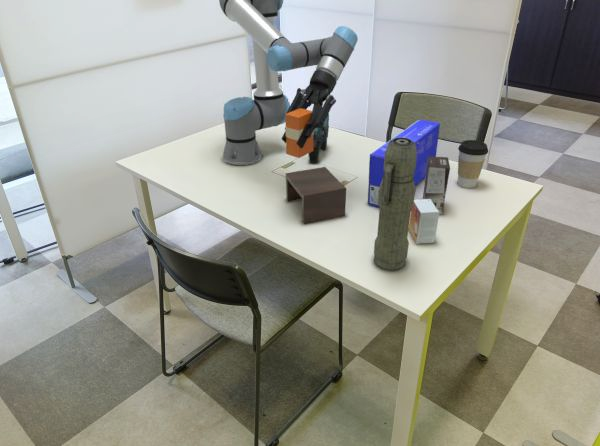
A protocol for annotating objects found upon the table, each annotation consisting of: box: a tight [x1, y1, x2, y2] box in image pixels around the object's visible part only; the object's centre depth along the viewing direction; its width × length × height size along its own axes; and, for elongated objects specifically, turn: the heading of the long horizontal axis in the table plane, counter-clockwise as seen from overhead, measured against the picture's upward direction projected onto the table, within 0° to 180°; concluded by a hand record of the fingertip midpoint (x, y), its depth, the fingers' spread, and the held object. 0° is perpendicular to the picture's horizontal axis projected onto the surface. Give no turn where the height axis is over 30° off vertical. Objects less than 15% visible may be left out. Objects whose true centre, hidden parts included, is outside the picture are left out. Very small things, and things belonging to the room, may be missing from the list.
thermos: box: [373, 138, 417, 272], centre depth 123 cm, size 9×12×35 cm
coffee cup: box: [457, 139, 489, 189], centre depth 168 cm, size 10×10×15 cm
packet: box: [284, 108, 314, 159], centre depth 144 cm, size 5×7×12 cm
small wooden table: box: [285, 166, 347, 225], centre depth 156 cm, size 17×14×10 cm
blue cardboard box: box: [367, 119, 441, 209], centre depth 167 cm, size 39×8×18 cm, turn 145°
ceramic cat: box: [308, 110, 330, 165], centre depth 191 cm, size 20×6×20 cm, turn 164°
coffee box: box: [422, 156, 451, 215], centre depth 154 cm, size 9×6×16 cm
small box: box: [408, 198, 440, 245], centre depth 140 cm, size 8×6×10 cm
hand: (291, 143), depth 142 cm, fingers closed on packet, 5 cm apart
